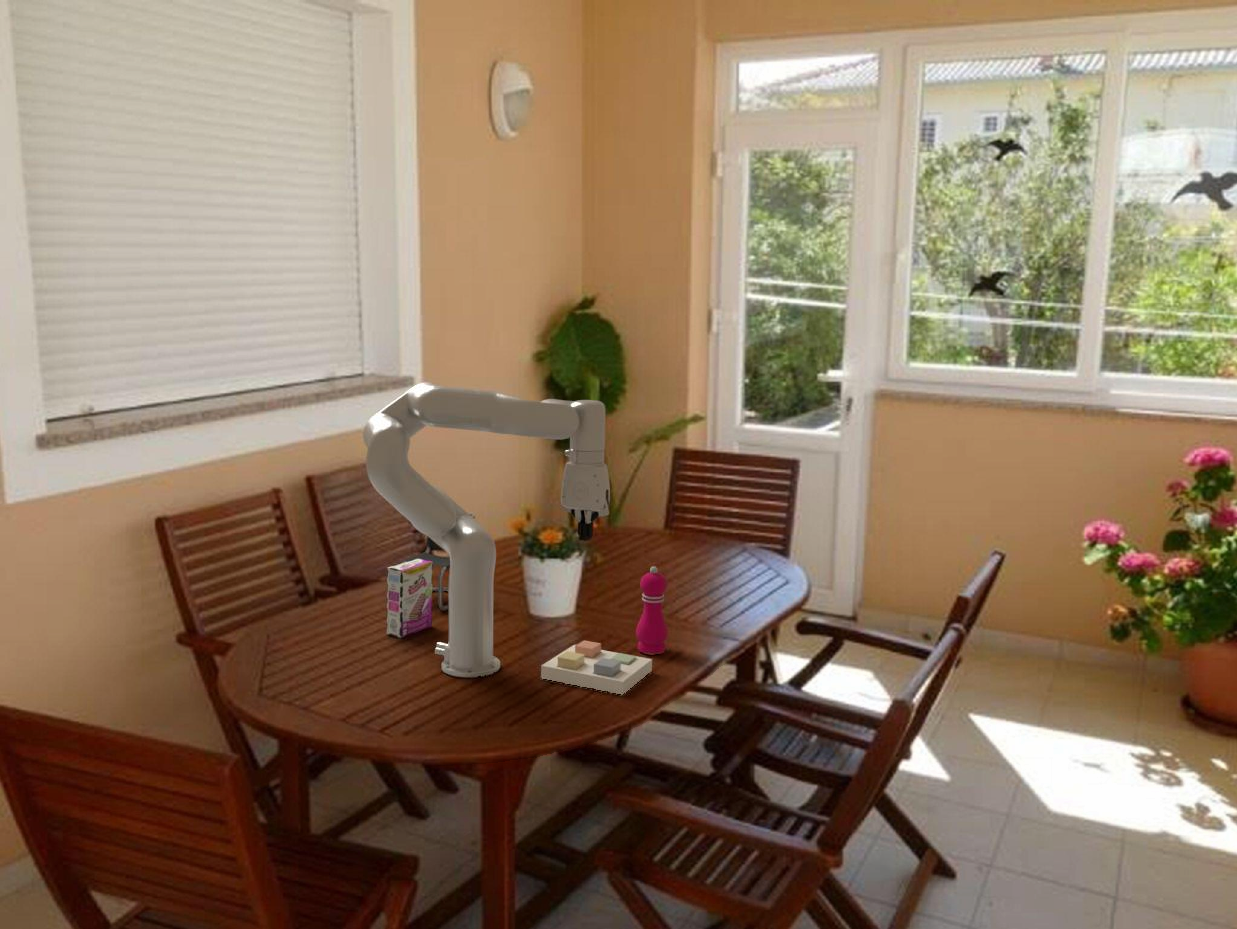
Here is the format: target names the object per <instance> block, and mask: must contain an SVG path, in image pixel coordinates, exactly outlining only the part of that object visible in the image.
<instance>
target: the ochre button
mask: <svg viewBox="0 0 1237 929" xmlns="http://www.w3.org/2000/svg"><path fill="white" fill-rule="evenodd" d="M584 657H585V654H580V653H574V652H569V651H566V652H565V653H563V654H562V655H560V656H559V657H558V667H562V668H567V669H572V670H577V669H579V668H580V667H581V666H583V665H584Z"/></svg>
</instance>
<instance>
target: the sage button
mask: <svg viewBox="0 0 1237 929" xmlns="http://www.w3.org/2000/svg"><path fill="white" fill-rule="evenodd" d="M617 653H618V654H616V655H615V656H614V657H612V658H611V659H612V660H617V661H621V664H624V665H630V664H631V663H633V662H634V661H635V660H636V656H637V655H632V654H626V653H621V652H617Z"/></svg>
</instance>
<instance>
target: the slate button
mask: <svg viewBox="0 0 1237 929" xmlns="http://www.w3.org/2000/svg"><path fill="white" fill-rule="evenodd" d="M619 672H621V661H617V660H612V659H606V658H602V659H600V660H599V661H598V662H596V663H595V664H594V674H597V675H602V676H608V677H614V676H615V675H617V674H618V673H619Z"/></svg>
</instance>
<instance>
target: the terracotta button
mask: <svg viewBox="0 0 1237 929" xmlns="http://www.w3.org/2000/svg"><path fill="white" fill-rule="evenodd" d="M575 645H576V646H575V653H580V654H585V657H587V658H592V659H593V658H595V657H596V656H598V655H599V654H600V653H601V650H602V643H601V642H595V641H589V640H582V641H580V642H579V643H577V644H575Z"/></svg>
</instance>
